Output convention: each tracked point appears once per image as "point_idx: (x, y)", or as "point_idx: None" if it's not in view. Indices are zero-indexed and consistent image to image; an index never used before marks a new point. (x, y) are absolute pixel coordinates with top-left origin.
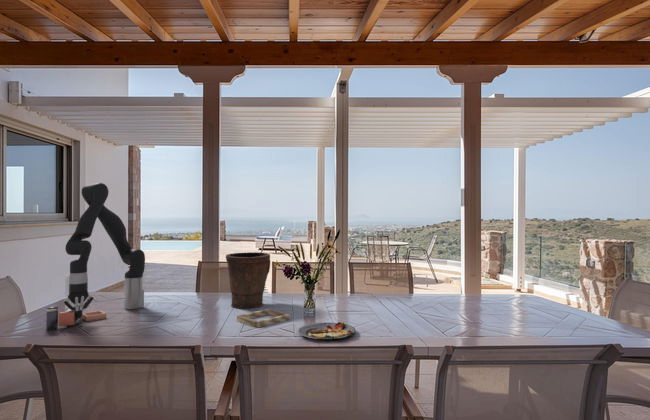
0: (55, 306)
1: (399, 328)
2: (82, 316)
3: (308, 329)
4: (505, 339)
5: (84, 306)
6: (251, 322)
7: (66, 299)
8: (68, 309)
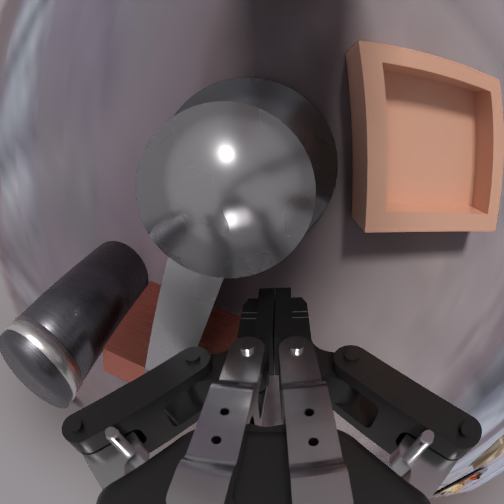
0: (37, 367)
1: (486, 472)
2: (357, 96)
3: (467, 476)
4: (469, 487)
5: (332, 407)
6: (478, 463)
7: (102, 478)
8: (167, 283)
